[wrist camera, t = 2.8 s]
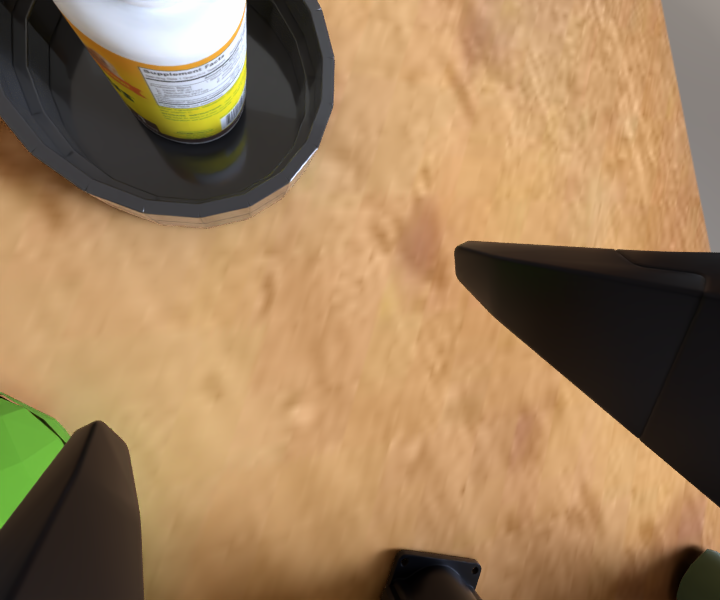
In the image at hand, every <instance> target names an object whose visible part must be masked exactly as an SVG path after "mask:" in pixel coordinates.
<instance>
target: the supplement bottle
mask: <svg viewBox="0 0 720 600" xmlns="http://www.w3.org/2000/svg"><path fill="white" fill-rule="evenodd" d="M53 2H54V3H55V4H56V6H57V7H58V9H59V10H60V12H61V13H62V14H63V16H64V17H65V19H66V20H67V22H68V23H69V24H70V26H71V27H72V29H73V30H74V31H75V33H76V34H77V36H78V37H79V39H80V40H81V42H82V43H83V44H84V46H85V47H86V48H87V50H88V51H89V53H90V54H91V56H92V57H93V58H94V60H95V61H96V63H97V64H98V66H99V67H100V68H101V70H102V72H103V73H104V74H105V75H106V77H107V78H108V79H109V81H110V82H111V84H112V85H113V86H114V88H115V89H116V91H117V92H118V93H119V95H120V96H121V98H122V99H123V101H124V102H125V104H126V105H127V106H128V107H129V109H130V110H131V111H132V113H133V114H134V115H135V116H136V117H137V118H138V119H139V120H140V121H141V122H142V123H143V124H144V125H145V126H146V127H148V128H149V129H151V130H152V131H153V132H155V133H156V134H158V135H160V136H162V137H164V138H167V139H169V140H172V141H176V142H180V143H186V144H201V143H207V142H211V141H213V140H216V139H218V138H220V137H222V136H224V135H225V134H226V133H228V132H229V131H230V130H231V129H232V128H233V127H234V126H235V124H236V123H237V122H238V120H239V118H240V116H241V114H242V112H243V109H244V105H245V98H246V0H53Z"/></svg>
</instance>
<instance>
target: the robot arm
mask: <svg viewBox="0 0 720 600" xmlns="http://www.w3.org/2000/svg"><path fill="white" fill-rule="evenodd" d="M454 256H455V272H456V276H457V278H458V280H459V281H460V282H461V283H462V284H463V285H464V286H465V288H466V289H467V290H468V291H469V292H470V293H471V294H472V295H473V296H474V297H475V298H476V299H477V300H478V301H479V302H480V303H481V304H482V305H483V306H484V307H485V308H486V309H487V310H488V312H490V313H491V314H492V315H493V316H494V317H495V318H496V319H497V320H498V321H499V322H500V323H501V324H503V325H504V326H505V327H506V328H507V329H509V330H510V331H511V332H512V333H513V334H515V335H516V336H517V337H518V338H519V339H520V340H522V341H523V342H524V343H525V344H526V345H528V346H529V347H530V348H531V349H532V350H534V351H535V352H536V353H537V354H538V355H539V356H541V357H542V358H543V359H544V360H545V361H547V362H548V363H549V364H550V365H551V366H553V367H554V368H555V369H556V370H557V371H558V372H560V373H561V374H562V375H563V376H564V377H566V378H567V379H568V380H569V381H570V382H572V383H573V384H574V385H575V386H576V387H578V388H579V389H580V390H581V391H582V392H583V393H585V394H586V395H587V396H588V397H589V398H591V399H592V400H593V401H594V402H595V403H597V404H598V405H599V406H600V407H601V408H602V409H604V410H605V411H606V412H607V413H608V414H610V415H611V416H612V417H613V418H614V419H616V420H617V421H618V422H619V423H620V424H621V425H623V426H624V427H625V428H626V429H627V430H629V431H630V432H631V433H632V434H633V435H635V436H636V437H637V438H640V441H641V442H643V443H644V444H645V445H646V446H647V447H648V448H650V449H651V450H652V451H653V452H654V453H656V454H657V455H658V456H659V457H660V458H662V459H663V460H664V461H665V462H666V463H668V464H669V465H670V466H671V467H672V468H673V469H675V470H676V471H677V472H678V473H679V474H681V475H682V476H683V477H684V478H685V479H687V480H688V481H689V482H690V483H691V484H692V485H694V486H695V487H696V488H697V489H698V490H700V491H701V492H702V493H703V494H704V495H706V496H707V497H708V498H709V499H710V500H711V501H713V502H714V503H715V504H716V505H717V506H719V507H720V253H710V252H661V251H639V250H621V249H617V250H616V251H615V250H614V249H602V248H585V247H568V246H550V245H533V244H516V243H498V242H481V241H467V242H465V243H463V244H461V245H459V246H457V247H456V248H455V251H454ZM404 558H405V560H404V561H402V560H403V559H404ZM480 573H481V566H480V565H479V563H478V562H477V561H476V560H475V559H469V558H461V557H454V556H446V555H439V554H432V553H424V552H417V551H409V550H401V551H399V552H398V553H397V554H396V556H395V559H394V562H393V565H392V568H391V571H390V574H389V577H388V580H387V583H386V586H385V588H384V590H383V593H382V596H381V599H380V600H482V599H481V598H480V596H479V595H478V594H477V592H476V591H475V588H476V585H477V582H478V579H479V576H480ZM0 600H144V585H143V562H142V539H141V521H140V512H139V505H138V500H137V494H136V488H135V483H134V477H133V471H132V466H131V460H130V454H129V450H128V447H127V445H126V443H125V442H124V441H123V440H122V439H121V438H120V437H119V436H118V435H117V434H116V433H115V432H114V431H113V430H112V429H110V428H109V427H108V426H107V425H106V424H105V423H104V422H102V421H94V422H92V423H90V424H88V425H86V426H84V427H82V428H80V429H78V430H76V431H75V432H74V433H73V435H72V436H71V437H70V439H69V440H68V441H67V443H66V444H65V445H64V446H63V448H62V449H61V450H60V452H59V453H58V454H57V456H56V457H55V458H54V460H53V461H52V462H51V464H50V465H49V466H48V467H47V469H46V470H45V471H44V473H43V474H42V475H41V477H40V478H39V479H38V481H37V482H36V483H35V485H34V486H33V487H32V488H31V490H30V491H29V492H28V494H27V495H26V496H25V498H24V499H23V500H22V502H21V503H20V504H19V505H18V507H17V508H16V509H15V511H14V512H13V513H12V515H11V516H10V517H9V519H8V520H7V521H6V523H5V524H4V525H3V526H2V528H1V529H0Z"/></svg>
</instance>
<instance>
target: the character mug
mask: <svg viewBox="0 0 720 600" xmlns="http://www.w3.org/2000/svg"><path fill="white" fill-rule="evenodd" d="M676 597H677V600H720V553H718V552H717V551H713V550H709V549H707V550H706V551H705V552H703V553H702V554H701V555H700V556H699V557H698V558H697V559H696V560H695V561H694V563H691V564H690V567H689V569H688V570H687V572H686V573H685V575H684V576H683V578H682V579H681V582H680V585H679V588H678V592H677V595H676Z"/></svg>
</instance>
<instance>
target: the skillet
mask: <svg viewBox="0 0 720 600" xmlns="http://www.w3.org/2000/svg"><path fill="white" fill-rule="evenodd" d="M334 68H335V60H334V54H333V50H332V46H331V42H330V39H329V35H328V31H327V27H326V23H325V19H324V16H323V12H322V10H321V7H320V5H319V3H318V1H317V0H246V98H245V105H244V109H243V112H242V114H241V116H240V118H239V120H238V122H237V123H236V124H235V126H234V127H233V128H232V129H231V130H230V131H229V132H228V133H226V134H225V135H224V136H222V137H220V138H218V139H216V140H213V141H211V142H207V143H201V144H186V143H180V142H176V141H172V140H169V139H167V138H164V137H162V136H160V135H158V134H156V133H155V132H153V131H152V130H151V129H149V128H148V127H146V126H145V125H144V124H143V123H142V122H141V121H140V120H139V119H138V118H137V117H136V116H135V115H134V114H133V113H132V111H131V110H130V109H129V107H128V106H127V105H126V104H125V102H124V101H123V99H122V98H121V96H120V95H119V93H118V92H117V91H116V89H115V88H114V86H113V85H112V84H111V82H110V81H109V79H108V78H107V77H106V75H105V74H104V73H103V72H102V70H101V68H100V67H99V66H98V64H97V63H96V61H95V60H94V58H93V57H92V56H91V54H90V53H89V51H88V50H87V48H86V47H85V46H84V44H83V43H82V42H81V40H80V39H79V37H78V36H77V34H76V33H75V31H74V30H73V29H72V27H71V26H70V24H69V23H68V22H67V20H66V19H65V17H64V16H63V14H62V13H61V12H60V10H59V9H58V7H57V6H56V4H55V3H54V2H53V0H0V117H1V118H2V119H3V120H4V122H5V123H6V124H7V125H8V127H9V128H10V129H11V130H12V132H13V133H14V134H15V135H16V137H17V138H18V139H19V140H20V142H21V143H22V144H23V145H24V146H25V148H26V149H27V150H28V151H29V152H30V153H31V154H32V155H33V156H34V157H36V158H37V159H39V160H40V161H41V162H43V163H44V164H46V165H47V166H48V167H50V168H51V169H53V170H54V171H55V172H57V173H58V174H60V175H61V176H62V177H64V178H65V179H67V180H68V181H69V182H71V183H72V184H74V185H75V186H77V187H78V188H79V189H81V190H82V191H84V192H86V193H88V194H89V195H91V196H93V197H95V198H97V199H99V200H101V201H103V202H104V203H106V204H108V205H110V206H112V207H114V208H116V209H118V210H121V211H124V212H127V213H129V214H132V215H135V216H138V217H140V218H143V219H146V220H149V221H151V222H154V223H157V224H160V225H165V226H180V227H194V228H212V227H217V226H221V225H225V224H230V223H234V222H238V221H242V220H247V219H249V218H251V217H253V216H255V215H256V214H258V213H260V212H261V211H263V210H264V209H266V208H268V207H269V206H271V205H273V204H274V203H276V202H278V201H279V200H281V199H282V197H284V196H285V195H286V194H287V193H288V191H289V190H290V189H291V188H292V186H293V185H294V184H295V183H296V182H297V180H298V179H299V178H300V177H301V175H302V174H303V173H304V172H305V170H306V169H307V167H308V165H309V163H310V162H311V160H312V158H313V156H314V155H315V153H316V151H317V149H318V148H319V145H320V142H321V139H322V137H323V134H324V131H325V128H326V125H327V123H328V120H329V117H330V114H331V111H332V109H333V103H334Z"/></svg>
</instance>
